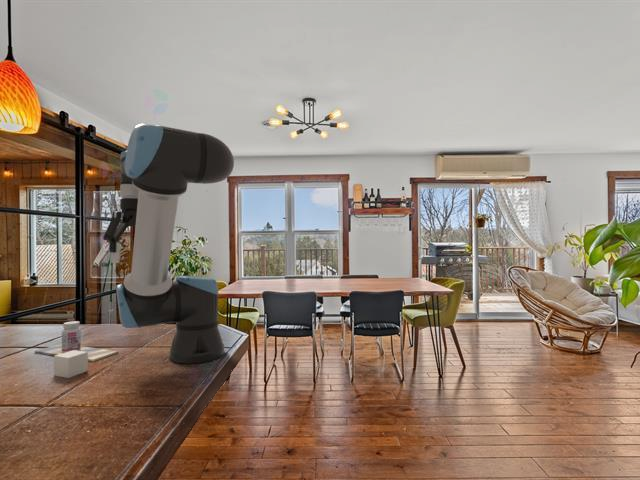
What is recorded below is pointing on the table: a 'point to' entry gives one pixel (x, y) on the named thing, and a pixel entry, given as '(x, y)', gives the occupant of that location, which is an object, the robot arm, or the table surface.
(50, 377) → the table surface
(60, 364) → the blank white cube
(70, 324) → the pill bottle
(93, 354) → the track
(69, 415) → the table surface
